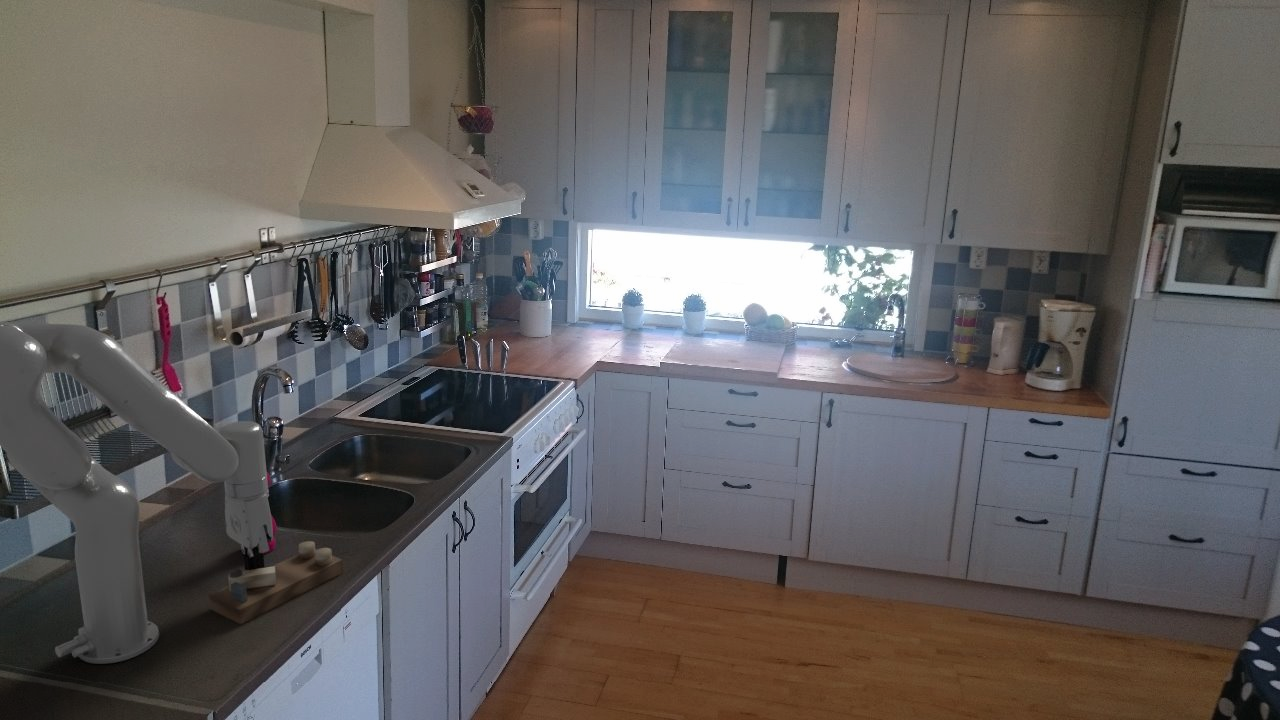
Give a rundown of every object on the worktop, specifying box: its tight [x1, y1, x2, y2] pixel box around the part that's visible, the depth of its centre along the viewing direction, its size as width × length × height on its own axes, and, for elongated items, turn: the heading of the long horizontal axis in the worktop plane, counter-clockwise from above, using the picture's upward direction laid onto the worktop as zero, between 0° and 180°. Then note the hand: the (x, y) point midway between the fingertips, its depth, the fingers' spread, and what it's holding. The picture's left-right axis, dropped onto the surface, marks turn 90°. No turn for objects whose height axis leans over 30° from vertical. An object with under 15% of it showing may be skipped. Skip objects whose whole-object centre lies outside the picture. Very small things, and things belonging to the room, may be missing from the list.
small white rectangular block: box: [227, 565, 276, 592], centre depth 173 cm, size 8×3×3 cm, turn 114°
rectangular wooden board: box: [208, 540, 344, 625], centre depth 177 cm, size 24×9×6 cm, turn 149°
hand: (255, 571), depth 176 cm, fingers closed
